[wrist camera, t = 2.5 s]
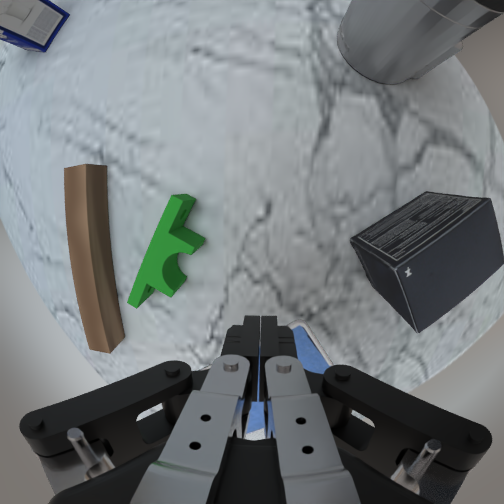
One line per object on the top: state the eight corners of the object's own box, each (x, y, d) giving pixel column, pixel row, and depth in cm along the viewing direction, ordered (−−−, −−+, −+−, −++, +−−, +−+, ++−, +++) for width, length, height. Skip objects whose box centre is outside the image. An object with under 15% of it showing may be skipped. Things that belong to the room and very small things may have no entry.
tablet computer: (302, 313, 29) (303, 319, 28) (348, 386, 31) (350, 392, 30) (167, 381, 32) (164, 387, 31) (224, 437, 34) (223, 443, 33)
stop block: (106, 165, 26) (85, 164, 22) (125, 336, 30) (110, 353, 27) (86, 169, 26) (64, 168, 22) (105, 334, 31) (89, 349, 27)
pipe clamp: (174, 303, 29) (159, 322, 25) (145, 286, 29) (126, 303, 25) (220, 210, 27) (210, 215, 22) (186, 193, 26) (170, 194, 22)
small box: (373, 291, 27) (416, 340, 17) (347, 238, 26) (389, 267, 16) (446, 241, 26) (507, 266, 15) (426, 189, 25) (491, 194, 14)
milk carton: (70, 14, 21) (-14, -37, 2) (46, 52, 23) (-50, 15, 3) (47, 14, 21) (-30, -26, 1) (25, 49, 22) (-60, 20, 3)
